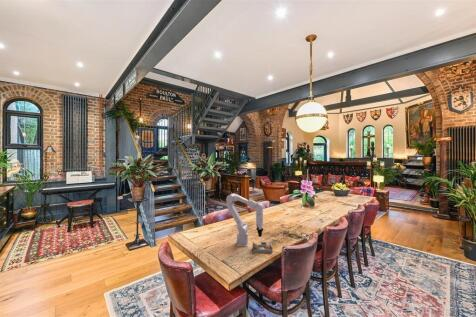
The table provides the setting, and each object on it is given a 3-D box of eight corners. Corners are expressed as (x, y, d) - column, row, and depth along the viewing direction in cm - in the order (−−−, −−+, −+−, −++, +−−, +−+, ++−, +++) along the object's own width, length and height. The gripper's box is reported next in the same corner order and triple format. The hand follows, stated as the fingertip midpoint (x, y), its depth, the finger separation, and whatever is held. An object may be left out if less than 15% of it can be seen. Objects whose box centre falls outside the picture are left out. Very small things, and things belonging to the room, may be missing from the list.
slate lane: (253, 252, 159) (253, 246, 159) (253, 247, 167) (253, 242, 167) (272, 252, 158) (272, 247, 158) (271, 247, 166) (271, 242, 166)
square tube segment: (261, 246, 168) (261, 244, 168) (260, 244, 173) (260, 242, 173) (266, 246, 168) (266, 244, 168) (266, 244, 173) (266, 242, 173)
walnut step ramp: (253, 252, 159) (253, 245, 159) (252, 247, 167) (252, 241, 167) (260, 252, 159) (260, 245, 159) (259, 247, 167) (259, 241, 167)
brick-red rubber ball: (271, 248, 159) (266, 247, 159) (270, 251, 161) (265, 251, 160) (270, 244, 163) (265, 243, 163) (269, 248, 164) (264, 247, 164)
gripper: (265, 221, 161) (265, 238, 161) (263, 215, 175) (264, 231, 175) (256, 221, 161) (256, 238, 161) (255, 215, 175) (255, 231, 176)
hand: (259, 234), depth 168 cm, fingers open, 7 cm apart
